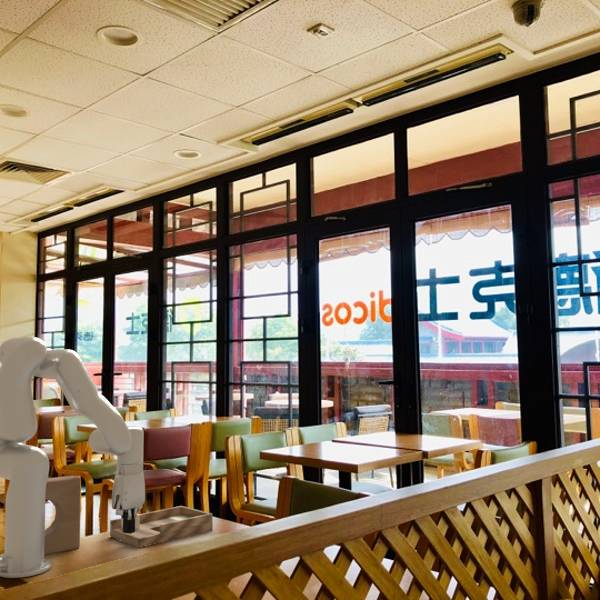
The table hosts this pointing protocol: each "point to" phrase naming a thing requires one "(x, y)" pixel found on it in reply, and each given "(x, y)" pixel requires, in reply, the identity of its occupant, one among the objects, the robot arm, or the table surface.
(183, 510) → the box
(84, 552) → the table surface
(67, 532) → the decorative block
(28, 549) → the robot arm
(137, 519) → the ivory block
